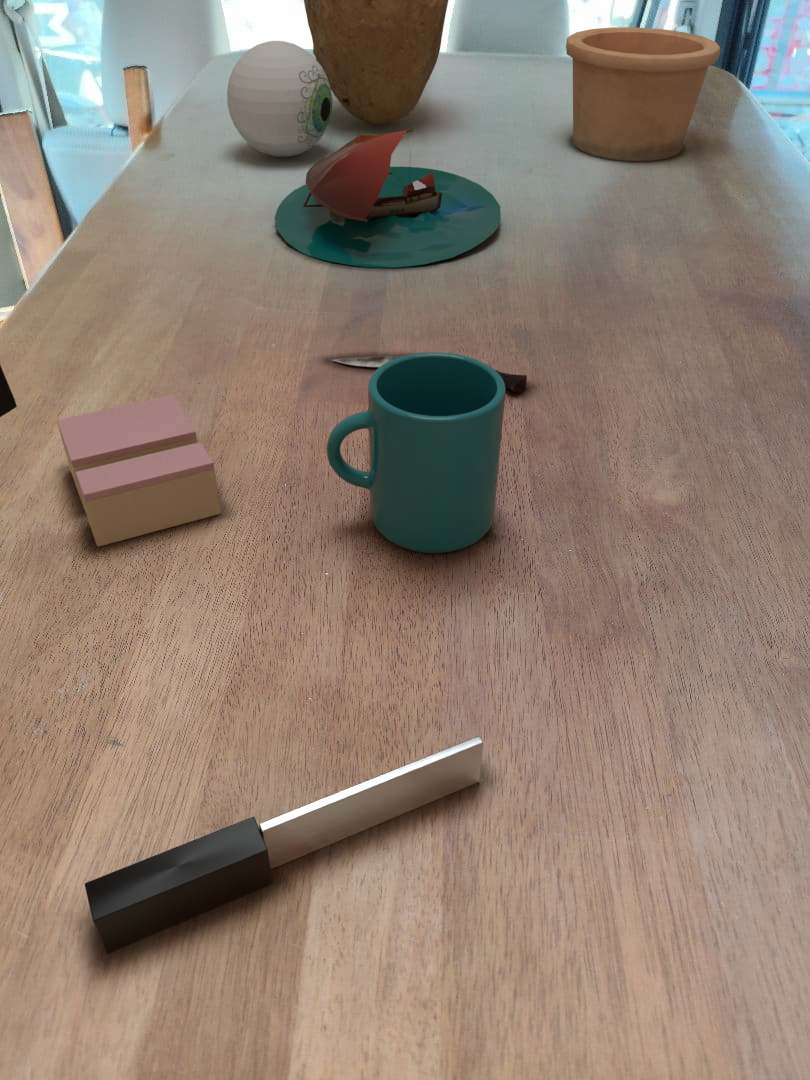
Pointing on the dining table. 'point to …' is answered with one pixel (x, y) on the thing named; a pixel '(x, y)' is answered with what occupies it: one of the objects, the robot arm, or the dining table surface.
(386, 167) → the sailing ship model
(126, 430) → the cake
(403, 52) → the brown rounded tapered piece
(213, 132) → the dining table surface
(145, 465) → the cake slice
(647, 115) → the pottery
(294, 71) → the decorative object
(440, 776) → the cake knife
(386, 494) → the cup
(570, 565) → the dining table surface
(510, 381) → the knife
